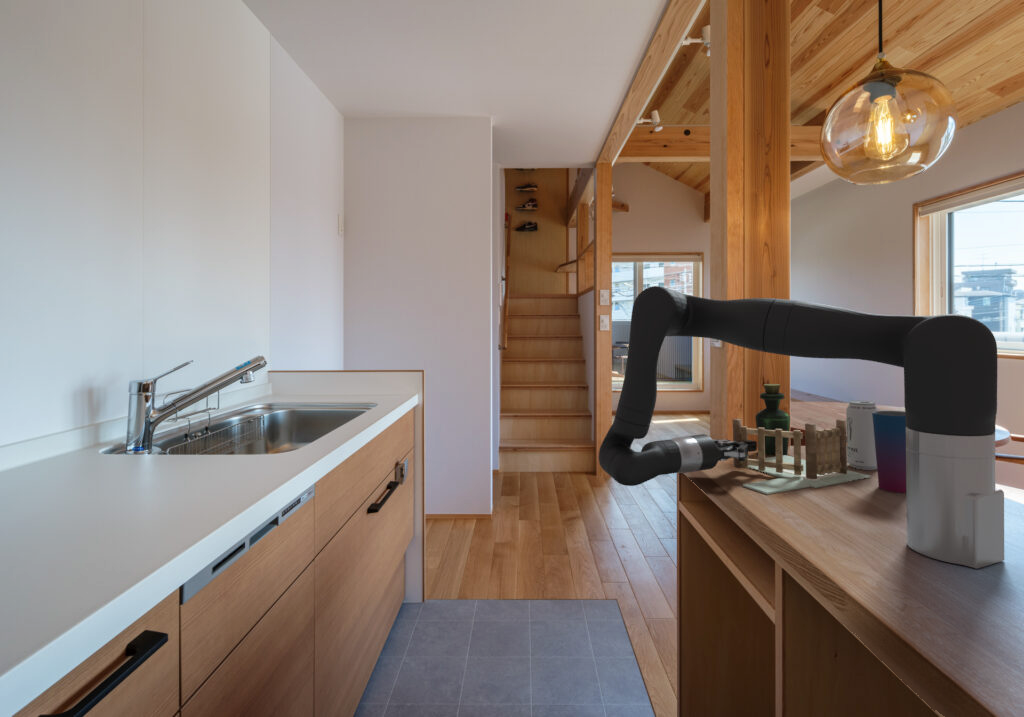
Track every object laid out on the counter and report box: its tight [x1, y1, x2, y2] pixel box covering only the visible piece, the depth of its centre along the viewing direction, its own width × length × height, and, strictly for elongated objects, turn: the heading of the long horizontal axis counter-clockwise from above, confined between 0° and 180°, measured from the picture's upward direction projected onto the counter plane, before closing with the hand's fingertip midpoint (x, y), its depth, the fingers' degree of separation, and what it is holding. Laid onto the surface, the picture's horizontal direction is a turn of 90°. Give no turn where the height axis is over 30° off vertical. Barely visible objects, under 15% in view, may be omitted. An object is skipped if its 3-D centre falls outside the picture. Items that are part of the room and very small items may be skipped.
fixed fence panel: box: [804, 418, 848, 479], centre depth 103 cm, size 2×11×12 cm, turn 109°
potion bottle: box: [755, 383, 791, 456], centre depth 126 cm, size 8×8×18 cm
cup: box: [872, 410, 906, 494], centre depth 94 cm, size 7×7×15 cm
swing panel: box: [732, 418, 804, 475], centre depth 107 cm, size 14×2×11 cm, turn 51°
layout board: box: [742, 454, 871, 495], centre depth 108 cm, size 21×28×1 cm
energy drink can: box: [845, 400, 880, 471], centre depth 110 cm, size 6×6×15 cm
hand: (754, 445), depth 108 cm, fingers closed
